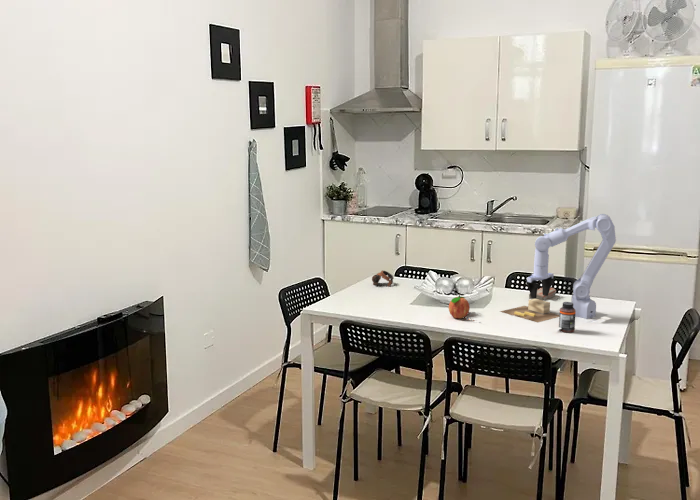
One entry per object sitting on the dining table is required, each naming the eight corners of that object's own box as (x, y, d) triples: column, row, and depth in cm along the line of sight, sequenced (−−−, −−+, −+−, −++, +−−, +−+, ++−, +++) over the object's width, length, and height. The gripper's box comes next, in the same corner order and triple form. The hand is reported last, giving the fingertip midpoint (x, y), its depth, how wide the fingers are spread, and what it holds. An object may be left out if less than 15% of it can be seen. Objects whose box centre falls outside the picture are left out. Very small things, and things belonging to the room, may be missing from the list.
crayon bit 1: (525, 315, 287) (525, 314, 287) (523, 316, 287) (523, 314, 286) (516, 313, 291) (516, 311, 291) (514, 313, 291) (514, 311, 290)
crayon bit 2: (535, 316, 287) (535, 314, 287) (533, 316, 286) (533, 314, 286) (526, 313, 291) (526, 311, 291) (524, 313, 290) (524, 311, 290)
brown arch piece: (379, 282, 355) (387, 269, 353) (390, 293, 349) (399, 280, 347) (364, 280, 346) (372, 267, 344) (375, 292, 340) (384, 278, 338)
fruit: (473, 317, 291) (474, 294, 289) (461, 322, 284) (461, 298, 282) (456, 313, 296) (456, 290, 295) (443, 318, 289) (444, 294, 288)
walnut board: (562, 319, 287) (562, 315, 287) (537, 326, 278) (537, 322, 278) (524, 308, 303) (524, 305, 303) (499, 314, 294) (499, 311, 294)
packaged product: (540, 285, 329) (560, 288, 322) (539, 295, 330) (560, 298, 323) (523, 292, 315) (544, 295, 309) (522, 302, 316) (543, 306, 310)
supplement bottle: (563, 327, 276) (564, 300, 274) (577, 330, 272) (579, 302, 270) (555, 331, 272) (557, 302, 270) (570, 334, 268) (571, 305, 266)
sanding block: (549, 313, 291) (550, 302, 291) (543, 314, 289) (543, 303, 288) (534, 308, 298) (534, 298, 297) (528, 310, 295) (528, 299, 295)
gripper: (544, 261, 297) (542, 292, 300) (521, 265, 289) (520, 297, 291) (558, 264, 292) (556, 295, 294) (535, 268, 283) (533, 300, 286)
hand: (539, 296), depth 292 cm, fingers open, 7 cm apart
